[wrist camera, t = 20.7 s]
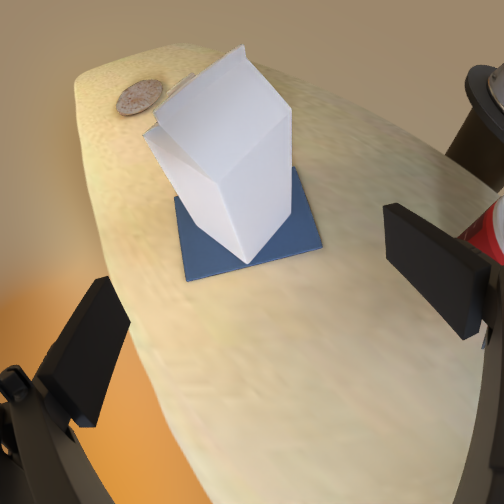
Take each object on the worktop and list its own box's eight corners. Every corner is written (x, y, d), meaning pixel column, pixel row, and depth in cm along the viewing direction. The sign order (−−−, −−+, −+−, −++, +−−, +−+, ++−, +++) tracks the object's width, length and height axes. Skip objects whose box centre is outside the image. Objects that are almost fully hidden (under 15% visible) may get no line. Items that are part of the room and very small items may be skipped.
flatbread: (132, 82, 44) (130, 78, 43) (171, 81, 43) (169, 77, 42) (108, 117, 42) (105, 113, 41) (148, 118, 40) (145, 114, 40)
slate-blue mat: (294, 168, 35) (294, 166, 35) (322, 248, 32) (322, 246, 31) (174, 198, 35) (173, 196, 35) (187, 281, 32) (186, 281, 31)
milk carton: (291, 213, 33) (292, 61, 15) (247, 265, 31) (199, 138, 14) (239, 179, 35) (202, 32, 17) (196, 226, 33) (118, 94, 16)
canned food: (490, 314, 27) (554, 289, 17) (435, 289, 29) (492, 254, 19) (500, 253, 29) (555, 213, 19) (448, 227, 31) (497, 176, 21)
